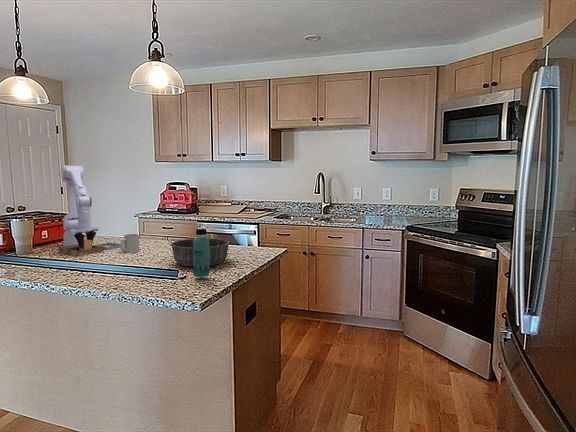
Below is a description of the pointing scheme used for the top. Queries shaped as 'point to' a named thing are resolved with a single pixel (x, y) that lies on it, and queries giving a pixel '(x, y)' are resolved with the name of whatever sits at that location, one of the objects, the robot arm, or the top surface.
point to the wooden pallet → (80, 253)
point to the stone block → (86, 245)
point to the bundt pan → (185, 251)
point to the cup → (130, 243)
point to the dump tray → (113, 245)
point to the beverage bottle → (201, 254)
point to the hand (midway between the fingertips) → (85, 247)
